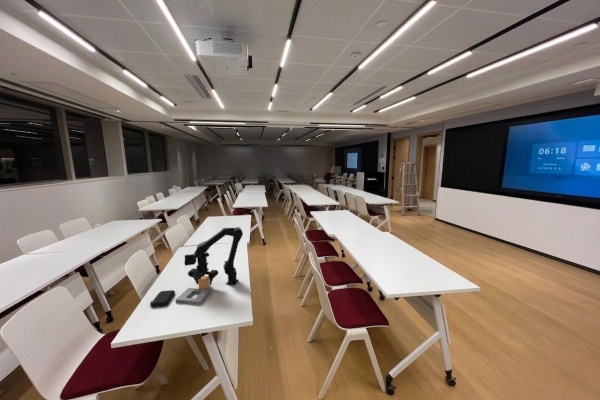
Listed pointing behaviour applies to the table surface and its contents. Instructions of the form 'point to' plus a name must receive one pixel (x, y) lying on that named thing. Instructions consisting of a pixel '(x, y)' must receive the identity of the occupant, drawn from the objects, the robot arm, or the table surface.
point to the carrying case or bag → (162, 298)
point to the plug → (203, 282)
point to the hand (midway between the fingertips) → (204, 284)
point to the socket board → (198, 300)
